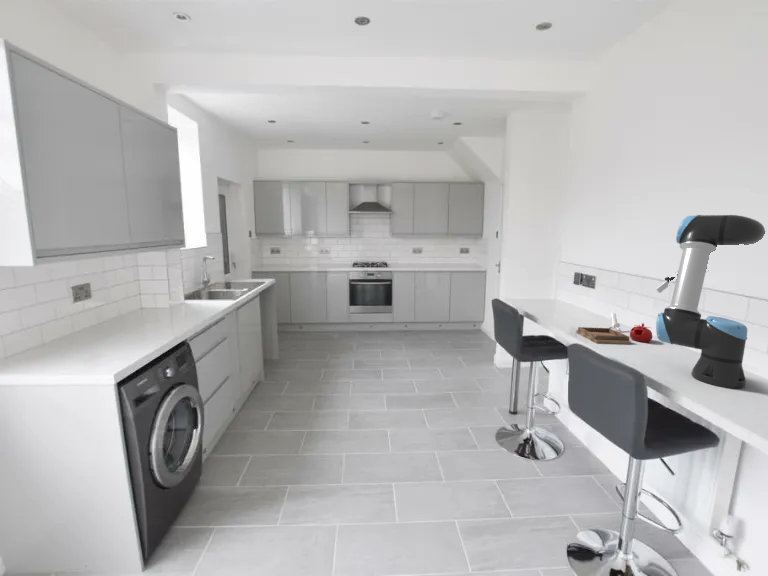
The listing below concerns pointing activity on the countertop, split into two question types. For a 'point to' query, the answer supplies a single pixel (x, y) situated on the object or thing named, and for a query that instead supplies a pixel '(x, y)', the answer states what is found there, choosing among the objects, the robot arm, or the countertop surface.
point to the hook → (615, 323)
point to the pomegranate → (641, 333)
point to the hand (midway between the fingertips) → (666, 293)
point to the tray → (603, 335)
